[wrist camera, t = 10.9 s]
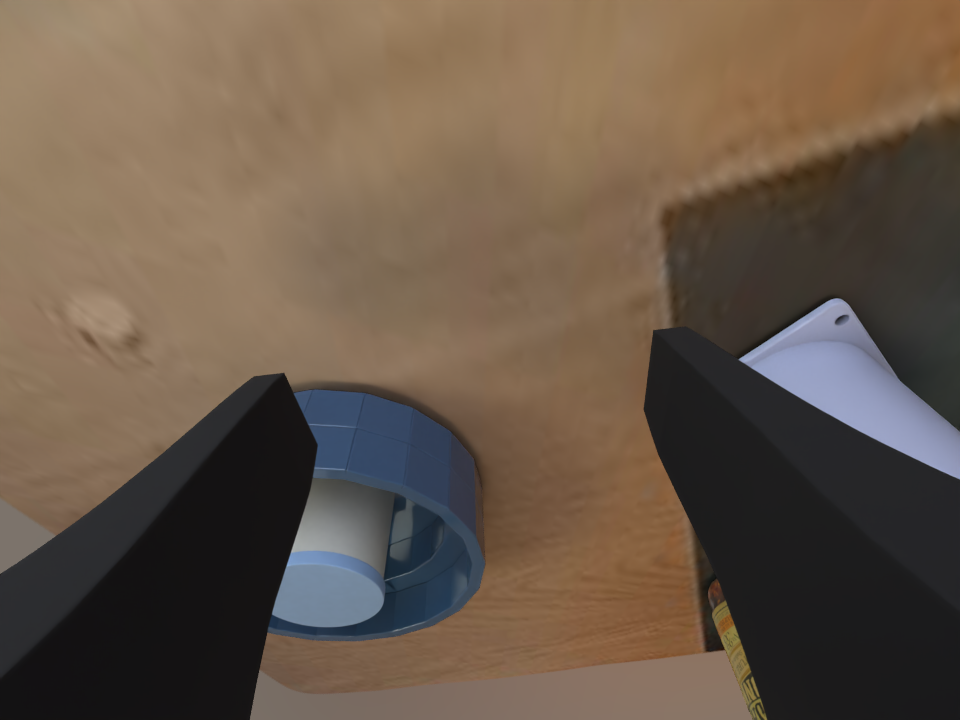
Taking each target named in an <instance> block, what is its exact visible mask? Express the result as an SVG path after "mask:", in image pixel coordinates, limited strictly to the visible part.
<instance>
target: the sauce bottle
mask: <svg viewBox="0 0 960 720" xmlns="http://www.w3.org/2000/svg"><path fill="white" fill-rule="evenodd" d="M708 598H709V604H710V607H711V609H712V617H713V620H714V623H715V625H716V628H717V630H718V633H719V635H720V638H721V641H722V643H723V646H724V648H725V651H726V653H727V656H728V658H729V661H730V663H731V666H732V668H733V671H734V673H735V676H736V678H737V681H738V683H739V686H740V688H741V691H742V694H743V697H744V699H745V702H746V705H747V707H748V710H749V712H750V714H751V716H752V719H753V720H767V718H766V715H765V711H764V708H763V705H762V702H761V699H760V696H759V693H758V691H757V688H756V685H755V682H754V679H753V676H752V673H751V670H750V667H749V665H748V662H747V659H746V656H745V653H744V650H743V647H742V644H741V641H740V639H739V636H738V633H737V631H736V628H735V625H734V622H733V620H732V617H731V614H730V611H729V609H728V606H727V603H726V601H725V598H724V595H723V592H722V590H721V587H720V584H719V582H718V580H717V578H716V579H715V580H714V581H713V582H712V583H711V585H710V587H709V590H708Z"/></svg>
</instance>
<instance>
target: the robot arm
mask: <svg viewBox="0 0 960 720" xmlns="http://www.w3.org/2000/svg"><path fill="white" fill-rule="evenodd" d="M840 316H841V317H840ZM838 317H840V318H839V319H837V318H838ZM836 319H837V320H836ZM644 412H645V415H646V418H647V422H648V425H649V428H650V431H651V434H652V437H653V440H654V443H655V446H656V449H657V452H658V455H659V457H660V459H661V461H662V463H663V466H664V468H665V470H666V472H667V474H668V476H669V478H670V480H671V482H672V485H673V487H674V489H675V491H676V493H677V495H678V497H679V499H680V501H681V503H682V505H683V507H684V509H685V511H686V514H687V516H688V518H689V520H690V522H691V524H692V526H693V528H694V530H695V532H696V534H697V536H698V538H699V540H700V542H701V545H702V547H703V549H704V551H705V553H706V555H707V557H708V559H709V561H710V564H711V566H712V568H713V571H714V573H715V575H716V577H717V580H718V582H719V584H720V587H721V590H722V592H723V595H724V598H725V601H726V603H727V606H728V609H729V611H730V614H731V617H732V620H733V622H734V625H735V628H736V631H737V633H738V636H739V639H740V641H741V644H742V647H743V650H744V653H745V656H746V659H747V662H748V665H749V667H750V670H751V673H752V676H753V679H754V682H755V685H756V688H757V691H758V693H759V696H760V699H761V702H762V705H763V708H764V711H765V715H766V718H767V720H960V432H959V431H958V430H957V429H956V428H955V427H954V426H952V425H951V424H950V423H949V422H948V421H947V420H945V419H944V418H943V417H942V416H941V415H939V414H938V413H937V412H936V411H935V410H934V409H932V408H931V407H930V406H929V405H928V404H927V403H925V402H924V401H923V400H922V399H921V398H919V397H918V396H917V395H916V394H915V393H914V392H912V391H911V390H910V389H909V388H908V387H907V386H905V385H904V384H903V383H902V382H901V381H900V380H899V379H898V377H897V376H896V374H895V373H894V371H893V370H892V368H891V367H890V365H889V364H888V362H887V361H886V359H885V358H884V356H883V355H882V353H881V352H880V350H879V349H878V347H877V346H876V344H875V343H874V342H873V340H872V339H871V337H870V336H869V334H868V333H867V331H866V330H865V328H864V327H863V325H862V324H861V322H860V321H859V319H858V318H857V316H856V315H855V313H854V312H853V310H852V309H851V307H850V306H849V305H848V304H847V303H846V302H845V301H843V300H842V299H838V298H836V299H831V300H829V301H827V302H826V303H824V304H823V305H821V306H820V307H818V308H816V309H815V310H813V311H812V312H810V313H809V314H807V315H806V316H804V317H803V318H801V319H800V320H798V321H797V322H795V323H794V324H792V325H790V326H789V327H787V328H786V329H784V330H783V331H781V332H780V333H778V334H777V335H775V336H774V337H772V338H771V339H769V340H768V341H766V342H764V343H763V344H761V345H760V346H758V347H757V348H755V349H754V350H752V351H751V352H749V353H748V354H746V355H745V356H743V357H742V358H740V359H737V358H735V357H734V356H732V355H731V354H729V353H728V352H726V351H725V350H723V349H721V348H720V347H718V346H717V345H715V344H714V343H712V342H711V341H709V340H708V339H706V338H704V337H703V336H701V335H700V334H698V333H696V332H695V331H693V330H691V329H690V328H688V327H678V328H669V329H660V330H653V338H652V346H651V354H650V362H649V371H648V379H647V387H646V395H645V403H644ZM317 447H318V444H317V442H316V440H315V438H314V435H313V433H312V431H311V429H310V427H309V425H308V423H307V421H306V418H305V416H304V414H303V412H302V410H301V408H300V406H299V404H298V401H297V399H296V397H295V395H294V393H293V391H292V389H291V387H290V385H289V382H288V380H287V378H286V376H285V374H284V373H280V374H271V375H263V376H254V377H253V378H251V379H250V380H249V381H247V382H246V383H245V384H243V385H242V386H241V387H240V388H238V389H237V390H236V391H235V392H234V393H232V394H231V395H230V396H229V397H228V398H226V399H225V400H224V401H223V402H222V403H221V404H219V405H218V406H217V407H216V408H215V409H214V410H212V411H211V412H210V413H209V414H208V415H207V416H206V417H204V418H203V419H202V420H201V421H200V422H199V423H197V424H196V425H195V426H194V427H193V428H192V429H190V430H189V431H188V432H187V433H186V434H185V435H184V436H182V437H181V438H180V439H179V440H178V441H177V442H175V443H174V444H173V445H172V446H171V447H170V448H168V449H167V450H166V451H165V452H164V453H163V454H161V455H160V456H159V457H158V458H157V459H155V460H154V461H153V462H152V463H150V464H149V465H148V466H147V467H145V468H144V469H143V470H142V471H140V472H139V473H138V474H137V475H135V476H134V477H133V478H132V479H131V480H129V481H128V482H127V483H126V484H124V485H123V486H122V487H121V488H119V489H118V490H117V491H116V492H114V493H113V494H112V495H111V496H109V497H108V498H107V499H106V500H104V501H103V502H102V503H101V504H99V505H98V506H97V507H95V508H94V509H93V510H91V511H90V512H89V513H87V514H86V515H85V516H83V517H82V518H81V519H79V520H78V521H76V522H75V523H74V524H72V525H71V526H70V527H68V528H67V529H65V530H64V531H63V532H61V533H60V534H58V535H57V536H55V537H54V538H53V539H52V540H50V541H48V542H47V543H46V544H44V545H43V546H41V547H40V548H38V549H37V550H36V551H34V552H33V553H31V554H30V555H28V556H27V557H26V558H24V559H22V560H21V561H20V562H18V563H17V564H15V565H14V566H12V567H10V568H9V569H7V570H6V571H4V572H3V573H1V574H0V720H250V715H251V710H252V704H253V699H254V693H255V688H256V683H257V678H258V673H259V669H260V664H261V659H262V655H263V650H264V645H265V641H266V636H267V631H268V627H269V623H270V619H271V616H272V612H273V608H274V605H275V601H276V598H277V595H278V591H279V588H280V585H281V582H282V579H283V576H284V573H285V570H286V566H287V563H288V560H289V557H290V554H291V551H292V548H293V545H294V541H295V538H296V535H297V532H298V529H299V526H300V523H301V519H302V516H303V513H304V510H305V506H306V503H307V500H308V496H309V493H310V489H311V484H312V479H313V473H314V467H315V461H316V454H317Z"/></svg>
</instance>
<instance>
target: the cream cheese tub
mask: <svg viewBox="0 0 960 720" xmlns="http://www.w3.org/2000/svg"><path fill="white" fill-rule="evenodd" d="M394 497H395V493H393V492H389V491H386V490H382V489H378V488H374V487H370V486H366V485H362V484H358V483H354V482H350V481H347V480H337V479H318V478H313V479H312V484H311V489H310V493H309V496H308V500H307V503H306V506H305V510H304V513H303V516H302V519H301V523H300V526H299V529H298V532H297V535H296V538H295V541H294V545H293V548H292V551H291V554H290V557H289V560H288V563H287V566H286V570H285V573H284V576H283V579H282V582H281V585H280V588H279V591H278V595H277V598H276V601H275V605H274V608H273V612H272V615H274V616H276V617H278V618H281V619H283V620H286V621H289V622H292V623H296V624H301V625H306V626H314V627H341V626H348V625H353V624H357V623H360V622H363V621H365V620H367V619H369V618H371V617H373V616H374V615H375V614H377V613H378V612H379V611H380V609H381V608H382V606H383V603H384V597H385V588H386V587H385V582H384V572H385V564H386V557H387V550H388V542H389V535H390V527H391V520H392V513H393V505H394Z"/></svg>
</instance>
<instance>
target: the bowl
mask: <svg viewBox="0 0 960 720" xmlns="http://www.w3.org/2000/svg"><path fill="white" fill-rule="evenodd" d="M294 395H295V397H296V399H297V401H298V404H299V406H300V408H301V410H302V412H303V414H304V416H305V418H306V421H307V423H308V425H309V427H310V429H311V431H312V433H313V435H314V438H315V440H316V442H317V444H318V447H317V454H316V461H315V467H314V473H313V478H318V479H337V480H347V481H350V482H354V483H358V484H362V485H366V486H370V487H374V488H378V489H382V490H386V491H389V492H393V493H395V497H394V505H393V513H392V520H391V527H390V535H389V542H388V550H387V557H386V564H385V572H384V582H385V587H386V588H385V597H384V603H383V606H382V608H381V609H380V611H379V612H378V613H377V614H375V615H374V616H373V617H371V618H369V619H367V620H365V621H363V622H360V623H357V624H353V625H348V626H341V627H314V626H306V625H301V624H296V623H292V622H289V621H286V620H283V619H281V618H278V617H276V616H274V615H272V616H271V619H270V623H269V627H268V631H267V632H268V633H271V634H277V635H283V636H289V637H296V638H302V639H308V640H318V641H364V640H372V639H380V638H388V637H396V636H400V635H403V634H407V633H410V632H413V631H417V630H420V629H423V628H427V627H430V626H433V625H435V624H437V623H439V622H440V621H442V620H444V619H446V618H447V617H449V616H451V615H453V614H455V613H456V612H458V611H460V610H461V609H462V608H463V606H464V605H465V604H466V603H467V602H468V601H469V600H470V599H471V598H472V596H473V595H474V594H475V593H476V592H477V591H478V590H479V588H480V584H481V580H482V576H483V572H484V568H485V542H484V522H483V521H484V520H483V497H482V484H481V481H480V478H479V474H478V471H477V467H476V464H475V461H474V459H473V457H472V456H471V455H470V454H469V452H468V451H467V450H466V449H465V448H464V446H463V445H462V444H461V443H460V442H459V441H458V439H457V438H456V437H455V436H454V435H453V433H452V432H450V430H448V429H446V428H445V427H443V426H442V425H440V424H438V423H437V422H435V421H434V420H432V419H430V418H429V417H427V416H426V415H424V414H422V413H421V412H419V411H417V410H416V409H413V408H412V407H409V406H406V405H403V404H400V403H397V402H393V401H390V400H387V399H384V398H381V397H377V396H374V395H371V394H368V393H366V394H365V393H361V392H347V391H333V390H320V389H314V390H306V391H300V392H294Z"/></svg>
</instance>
